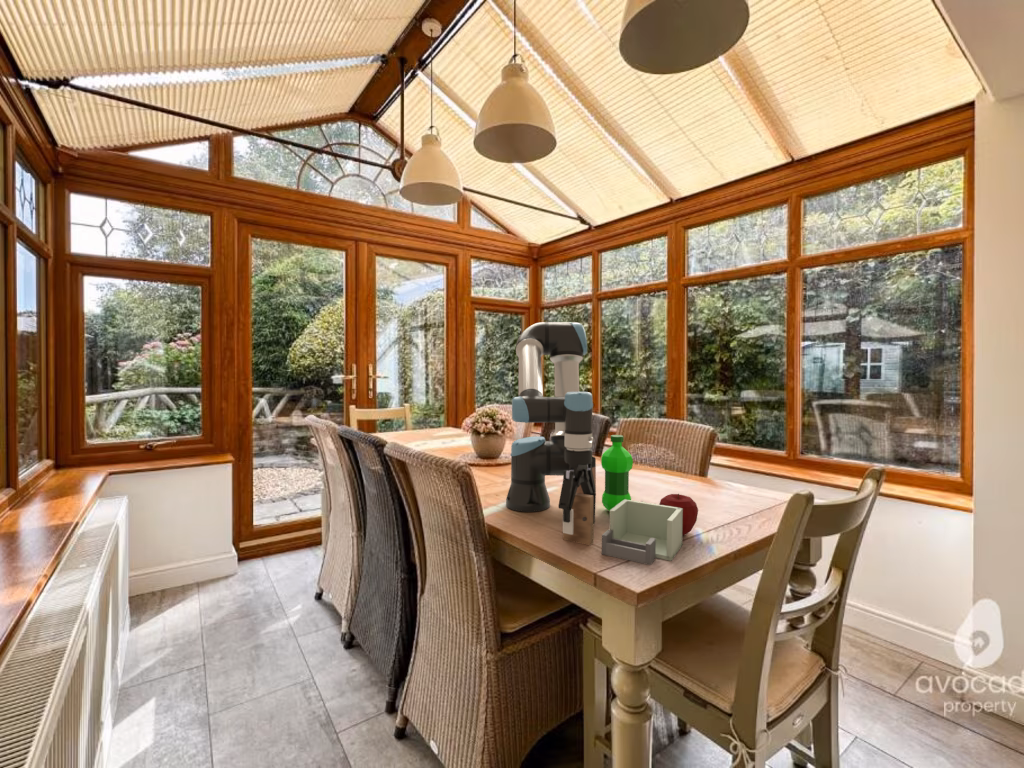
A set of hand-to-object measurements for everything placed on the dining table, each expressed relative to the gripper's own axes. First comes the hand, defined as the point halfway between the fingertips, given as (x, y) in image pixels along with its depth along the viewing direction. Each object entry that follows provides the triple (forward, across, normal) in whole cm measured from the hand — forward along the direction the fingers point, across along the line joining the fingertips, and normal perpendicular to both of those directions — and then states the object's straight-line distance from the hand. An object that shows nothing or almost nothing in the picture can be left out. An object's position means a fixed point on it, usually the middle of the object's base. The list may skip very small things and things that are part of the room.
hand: (578, 526), depth 129 cm
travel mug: (+4, +15, +5) cm, 16 cm away
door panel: (+4, 0, 0) cm, 4 cm away
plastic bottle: (+4, +31, 0) cm, 31 cm away
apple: (+4, +20, -22) cm, 30 cm away
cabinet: (+4, +4, -17) cm, 18 cm away
